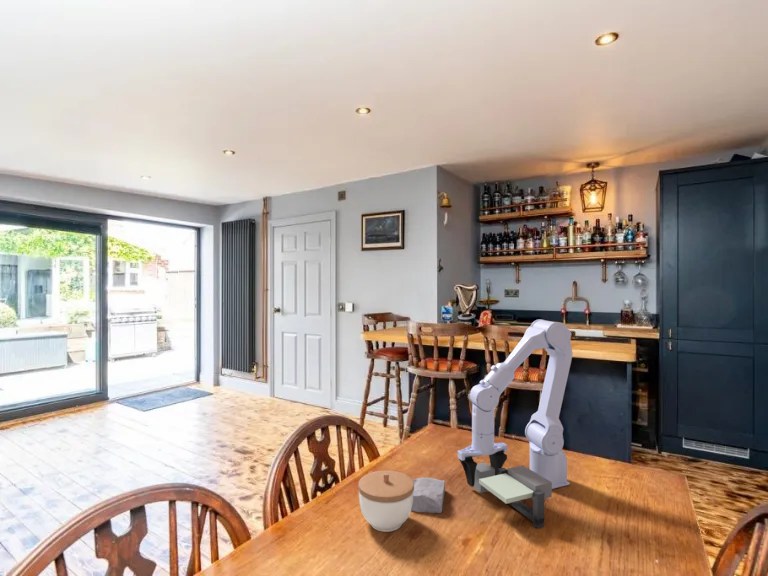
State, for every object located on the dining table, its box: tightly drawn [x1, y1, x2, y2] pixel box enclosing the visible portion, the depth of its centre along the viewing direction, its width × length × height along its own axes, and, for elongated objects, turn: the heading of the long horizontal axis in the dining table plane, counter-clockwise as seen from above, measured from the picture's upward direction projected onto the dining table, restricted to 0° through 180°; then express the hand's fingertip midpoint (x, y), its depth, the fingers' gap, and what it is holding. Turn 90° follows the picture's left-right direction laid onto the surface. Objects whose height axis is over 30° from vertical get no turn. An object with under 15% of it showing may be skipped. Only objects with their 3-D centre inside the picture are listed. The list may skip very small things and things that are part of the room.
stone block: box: [411, 476, 446, 514], centre depth 103 cm, size 12×5×10 cm
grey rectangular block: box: [472, 462, 495, 494], centre depth 109 cm, size 4×4×6 cm
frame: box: [496, 467, 545, 529], centre depth 98 cm, size 2×14×8 cm, turn 23°
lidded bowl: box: [357, 469, 414, 533], centre depth 93 cm, size 13×13×11 cm
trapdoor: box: [479, 465, 553, 505], centre depth 97 cm, size 13×10×3 cm
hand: (482, 482), depth 110 cm, fingers open, 7 cm apart
